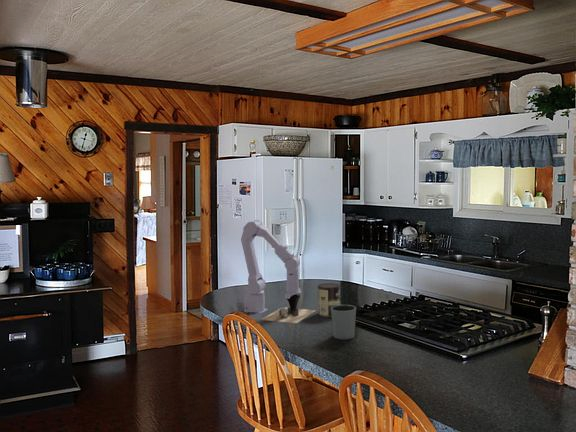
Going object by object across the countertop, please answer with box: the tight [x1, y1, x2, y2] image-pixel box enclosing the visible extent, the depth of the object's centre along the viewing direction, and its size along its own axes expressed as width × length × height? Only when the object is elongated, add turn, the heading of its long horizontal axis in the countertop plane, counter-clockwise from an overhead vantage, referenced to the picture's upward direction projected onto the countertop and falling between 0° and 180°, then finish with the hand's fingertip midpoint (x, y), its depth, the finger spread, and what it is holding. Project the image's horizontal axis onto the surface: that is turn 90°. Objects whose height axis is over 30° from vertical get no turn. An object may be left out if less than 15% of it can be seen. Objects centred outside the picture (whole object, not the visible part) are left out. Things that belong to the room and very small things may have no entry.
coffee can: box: [317, 282, 341, 319], centre depth 267 cm, size 10×10×14 cm
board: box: [260, 307, 317, 324], centre depth 267 cm, size 18×24×1 cm
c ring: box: [279, 307, 299, 317], centre depth 268 cm, size 7×9×2 cm
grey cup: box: [331, 304, 357, 340], centre depth 233 cm, size 10×10×12 cm
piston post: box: [280, 306, 289, 318], centre depth 263 cm, size 3×3×4 cm
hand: (293, 310), depth 272 cm, fingers closed
